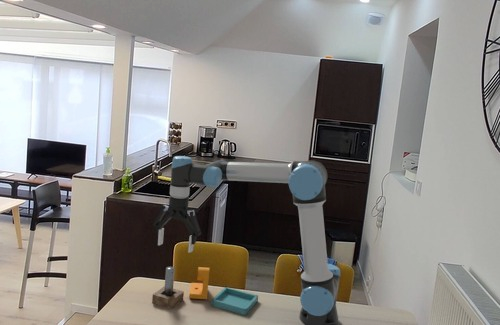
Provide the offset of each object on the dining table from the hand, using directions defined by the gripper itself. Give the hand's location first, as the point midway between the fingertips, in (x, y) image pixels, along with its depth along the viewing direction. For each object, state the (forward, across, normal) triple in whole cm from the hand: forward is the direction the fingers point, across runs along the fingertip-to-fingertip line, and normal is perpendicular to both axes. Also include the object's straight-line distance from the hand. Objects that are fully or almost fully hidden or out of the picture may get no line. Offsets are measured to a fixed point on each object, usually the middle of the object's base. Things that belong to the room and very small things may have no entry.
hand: (175, 248), depth 181 cm
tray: (+22, -23, -12) cm, 34 cm away
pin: (+22, +1, +1) cm, 22 cm away
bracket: (+23, -7, -11) cm, 26 cm away
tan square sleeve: (+22, +1, +1) cm, 22 cm away
